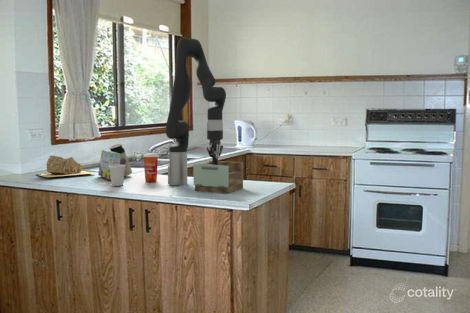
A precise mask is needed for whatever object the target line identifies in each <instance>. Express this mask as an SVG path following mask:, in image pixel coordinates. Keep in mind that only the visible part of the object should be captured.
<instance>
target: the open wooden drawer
mask: <svg viewBox="0 0 470 313" xmlns="http://www.w3.org/2000/svg"><path fill="white" fill-rule="evenodd" d="M208 165H212V160H209V162H208ZM218 165H226V166H229V187H225V188H218V187H214V186H202V187H200V186H196V185H194V191H195V192H205V193H206V192H207V193H217V194H218V193H219V194H231V193H233V192H237V191H239V190H240V191H241V190H243V189H244V162H243V161H223V160H221V161H220V160H218Z"/></svg>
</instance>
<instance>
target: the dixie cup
mask: <svg viewBox="0 0 470 313" xmlns="http://www.w3.org/2000/svg"><path fill="white" fill-rule="evenodd" d="M109 169H110V176H111V180H110V182H111V186H113V187H114V186H116V187H117V186H118V187H119V186H123V185H124V179H125V177H124V170H125V165H110V166H109Z"/></svg>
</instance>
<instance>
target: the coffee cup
mask: <svg viewBox="0 0 470 313" xmlns="http://www.w3.org/2000/svg"><path fill="white" fill-rule="evenodd" d="M142 157H143V165H144V167H143V168H144V180H145V182H147V183H154V182H157V180H158V163H159V162H158V160H159V155H158V153H156V152H152V153H151V152H148V153H144V154H143V156H142Z"/></svg>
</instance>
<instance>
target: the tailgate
mask: <svg viewBox="0 0 470 313" xmlns="http://www.w3.org/2000/svg"><path fill="white" fill-rule="evenodd" d="M192 166H193V167H192V168H193V174H192V175H193V177H192V178H193V186H195V185H196V186H200V187H202V186H214V187H218V188H225V187H229V166H226V165H209V164H205V163H204V164H203V163H202V164H201V163H193V165H192Z"/></svg>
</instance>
